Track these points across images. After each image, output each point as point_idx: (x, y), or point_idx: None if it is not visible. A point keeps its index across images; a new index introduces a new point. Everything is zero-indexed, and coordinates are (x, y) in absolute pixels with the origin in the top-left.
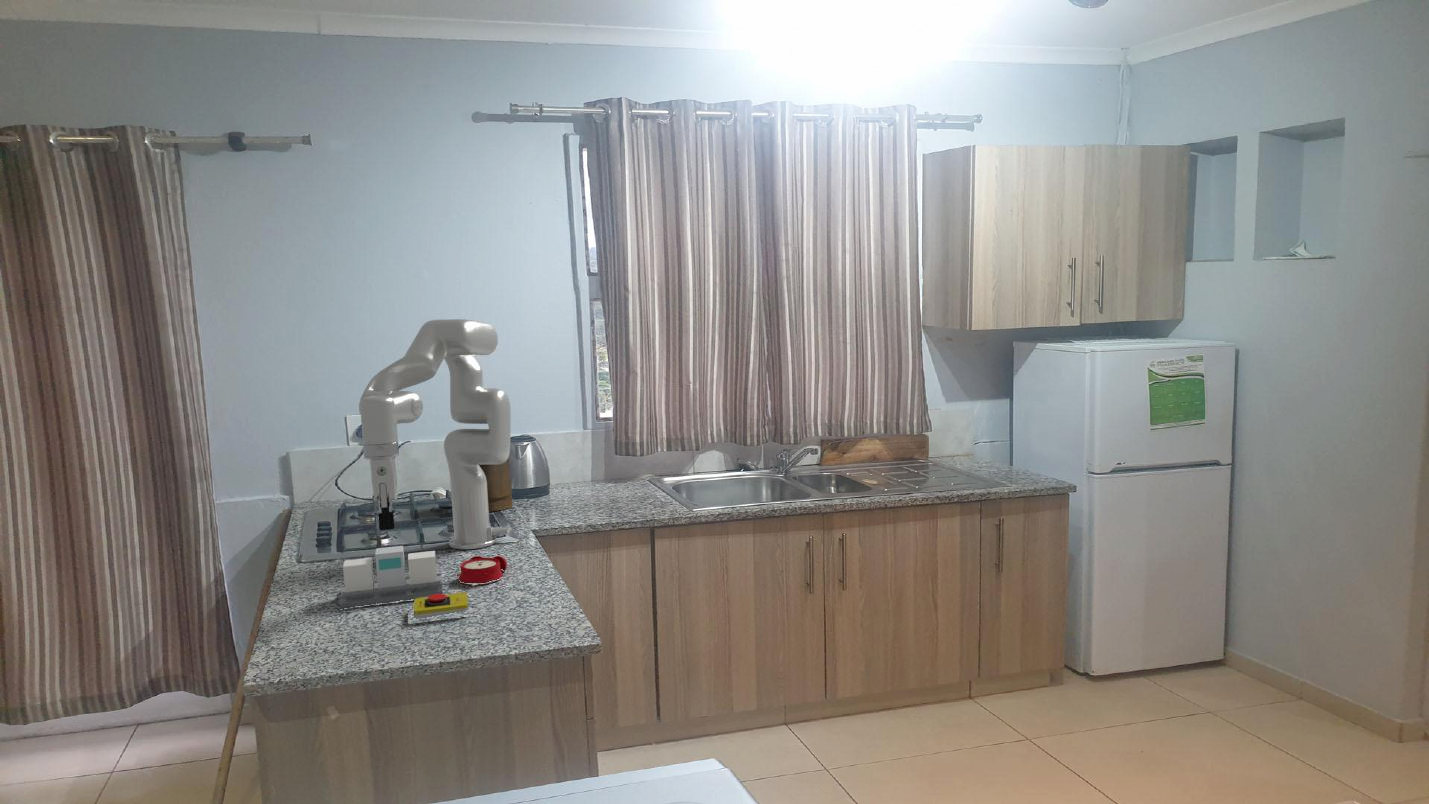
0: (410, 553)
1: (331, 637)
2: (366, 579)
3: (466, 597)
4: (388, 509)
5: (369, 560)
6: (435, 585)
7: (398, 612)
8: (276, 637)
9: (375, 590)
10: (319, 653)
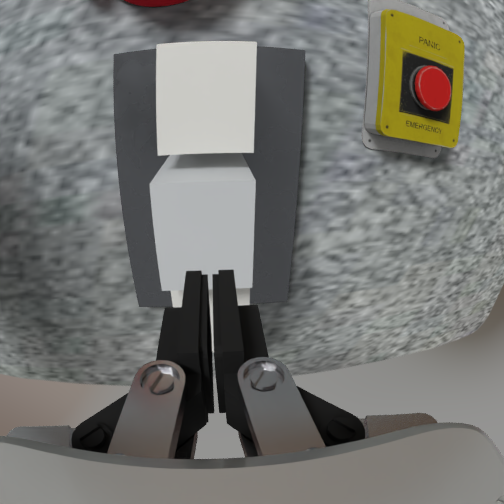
0: (158, 146)
1: (419, 284)
2: None
3: (423, 21)
4: (319, 400)
5: None
6: None
7: (363, 169)
8: (367, 355)
9: None
10: (460, 288)
